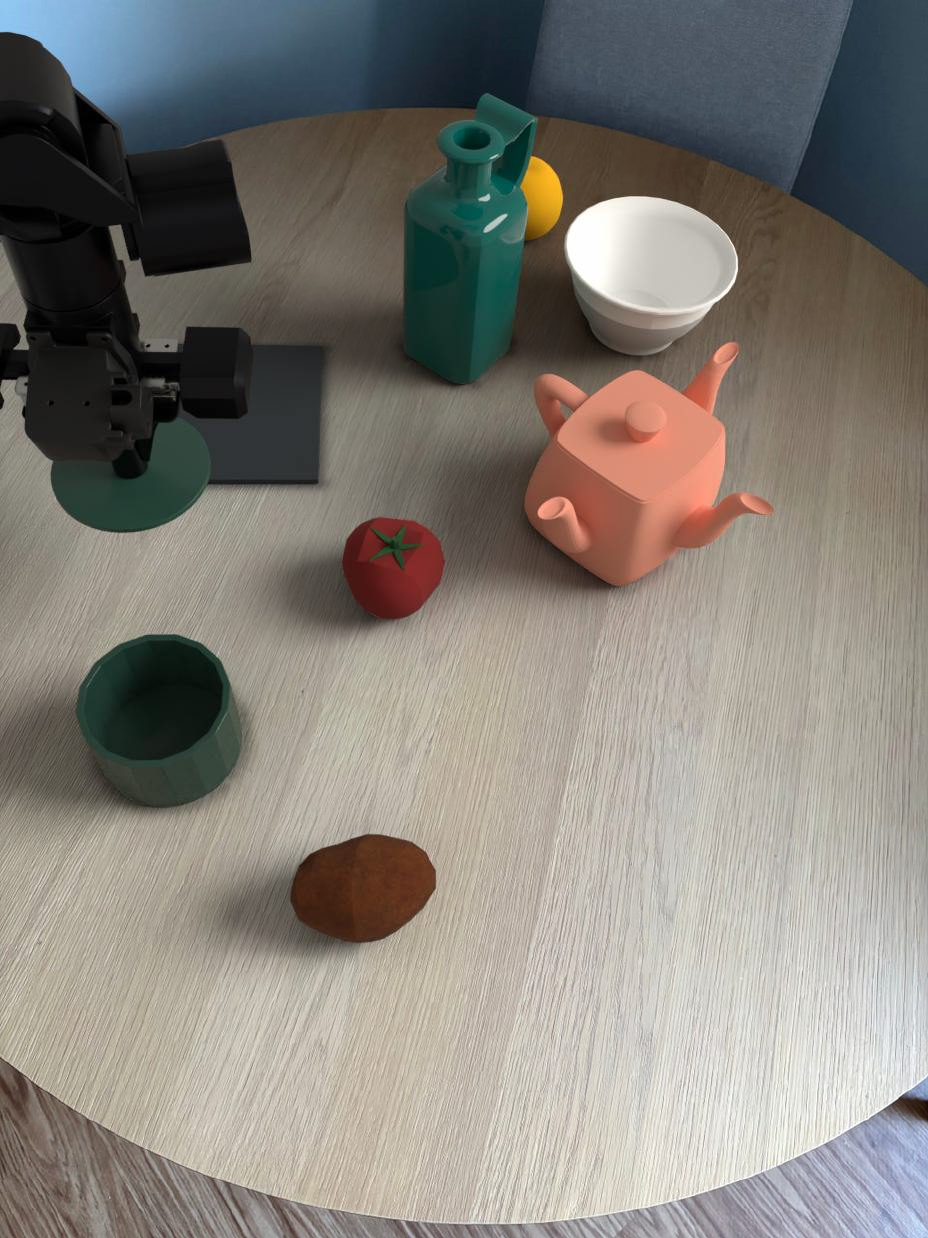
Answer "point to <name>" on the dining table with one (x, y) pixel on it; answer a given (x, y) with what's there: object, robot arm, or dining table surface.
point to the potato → (362, 887)
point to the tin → (160, 719)
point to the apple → (541, 198)
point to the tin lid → (136, 482)
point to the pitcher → (467, 243)
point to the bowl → (647, 270)
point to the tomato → (392, 566)
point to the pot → (633, 471)
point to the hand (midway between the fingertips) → (127, 456)
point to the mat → (270, 422)
